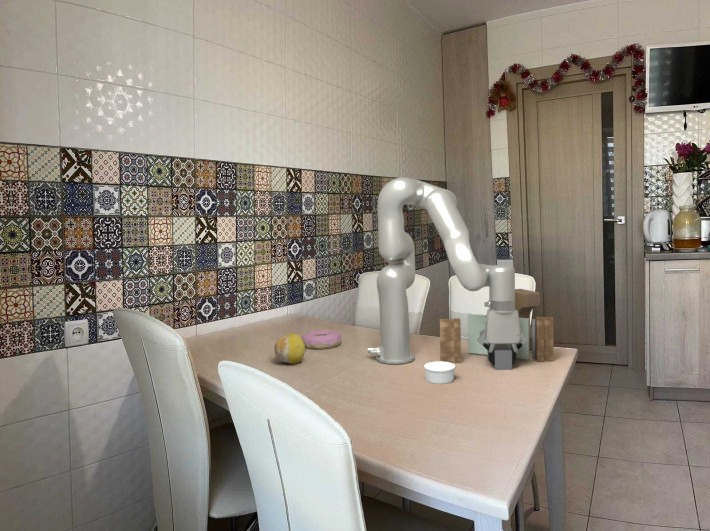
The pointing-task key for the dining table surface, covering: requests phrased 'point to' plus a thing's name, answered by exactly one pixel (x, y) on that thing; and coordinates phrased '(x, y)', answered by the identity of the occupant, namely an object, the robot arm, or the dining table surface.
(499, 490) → the dining table surface
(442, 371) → the ramekin
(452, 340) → the frame
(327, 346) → the donut
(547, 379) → the dining table surface
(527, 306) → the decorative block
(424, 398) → the dining table surface
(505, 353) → the grey block
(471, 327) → the door
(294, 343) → the fruit
